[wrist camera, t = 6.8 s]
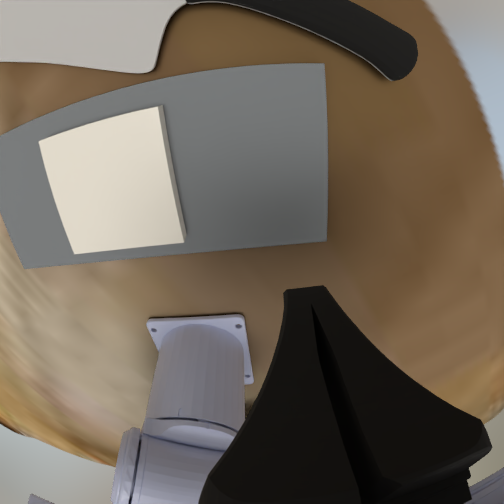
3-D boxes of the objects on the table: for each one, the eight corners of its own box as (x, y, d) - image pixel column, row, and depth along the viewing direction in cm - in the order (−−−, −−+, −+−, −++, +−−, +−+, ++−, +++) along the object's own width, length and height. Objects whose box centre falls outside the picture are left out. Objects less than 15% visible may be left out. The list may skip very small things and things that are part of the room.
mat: (324, 236, 20) (326, 241, 19) (27, 265, 20) (24, 269, 20) (321, 64, 14) (324, 63, 13) (-15, 144, 15) (-20, 146, 14)
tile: (184, 242, 18) (74, 254, 18) (187, 232, 19) (81, 245, 19) (157, 106, 13) (38, 141, 14) (163, 104, 14) (48, 136, 15)
